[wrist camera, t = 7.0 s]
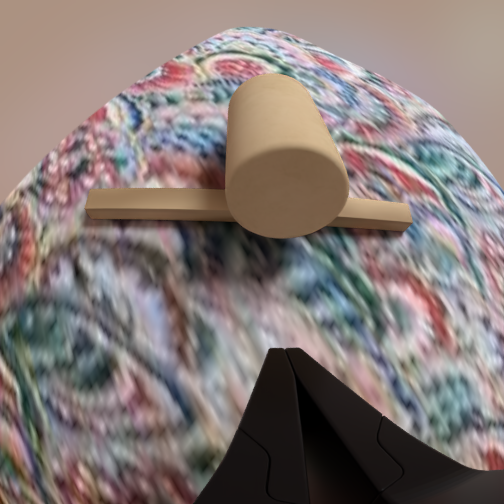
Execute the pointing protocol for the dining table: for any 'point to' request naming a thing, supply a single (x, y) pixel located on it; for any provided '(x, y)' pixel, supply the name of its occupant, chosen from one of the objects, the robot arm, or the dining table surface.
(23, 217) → the dining table surface
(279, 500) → the robot arm
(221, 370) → the dining table surface
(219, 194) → the oak strip
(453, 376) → the dining table surface
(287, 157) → the candle
